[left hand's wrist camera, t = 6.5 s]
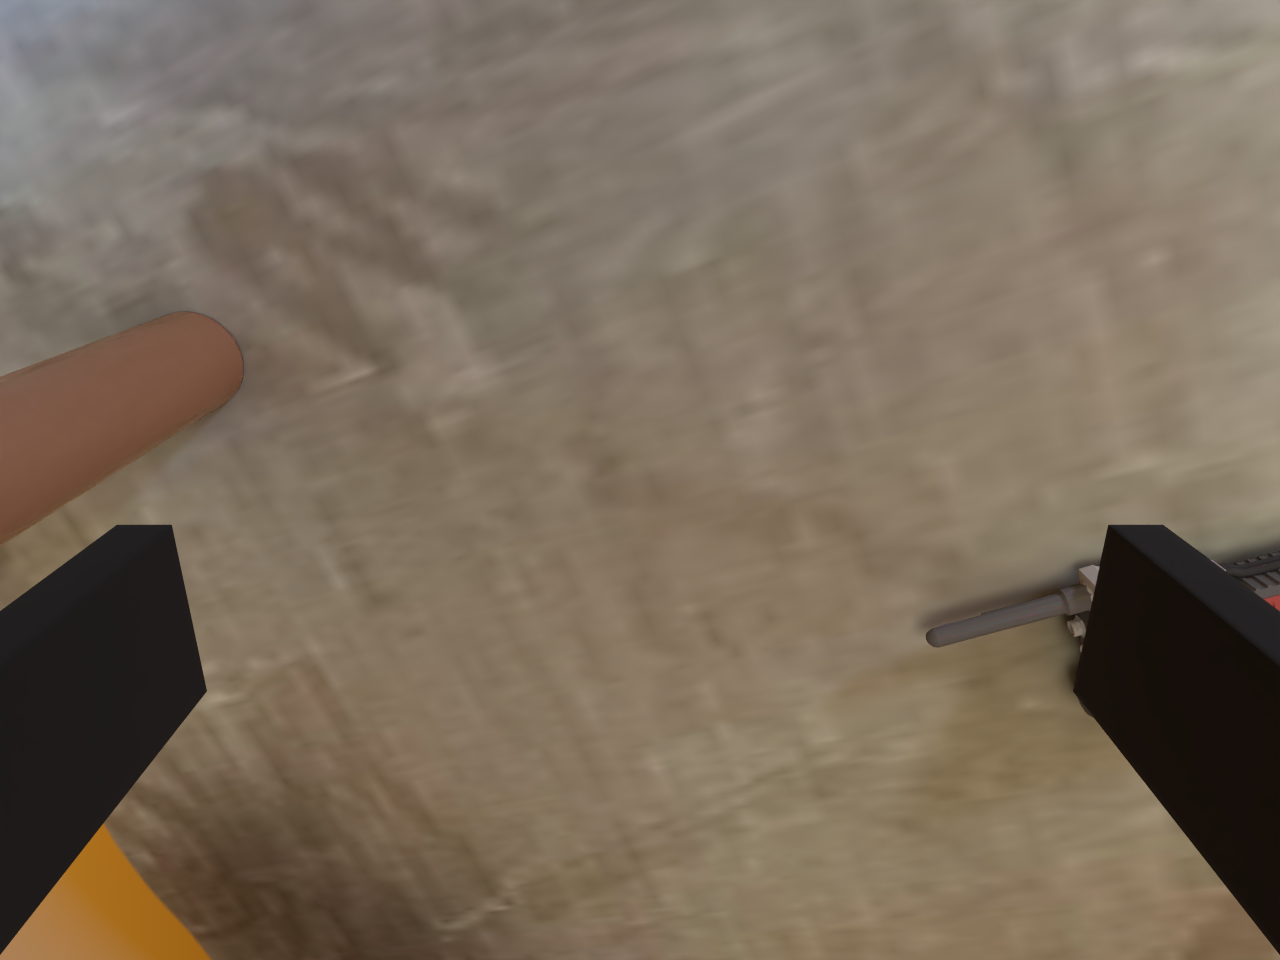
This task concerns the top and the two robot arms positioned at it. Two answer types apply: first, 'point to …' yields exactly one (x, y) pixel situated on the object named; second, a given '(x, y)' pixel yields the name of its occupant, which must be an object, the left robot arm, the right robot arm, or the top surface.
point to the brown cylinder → (106, 409)
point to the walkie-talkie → (1264, 575)
